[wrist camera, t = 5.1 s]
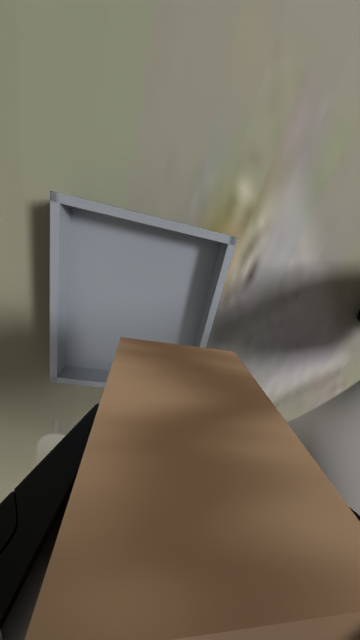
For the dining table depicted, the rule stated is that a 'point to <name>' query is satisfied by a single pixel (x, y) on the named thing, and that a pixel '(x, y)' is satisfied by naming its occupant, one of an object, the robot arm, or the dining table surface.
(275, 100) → the dining table surface
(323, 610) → the wooden block with knob
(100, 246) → the tray
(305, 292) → the dining table surface
